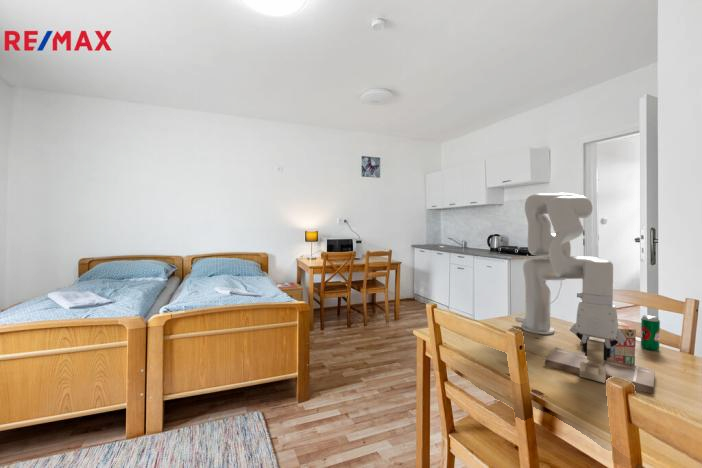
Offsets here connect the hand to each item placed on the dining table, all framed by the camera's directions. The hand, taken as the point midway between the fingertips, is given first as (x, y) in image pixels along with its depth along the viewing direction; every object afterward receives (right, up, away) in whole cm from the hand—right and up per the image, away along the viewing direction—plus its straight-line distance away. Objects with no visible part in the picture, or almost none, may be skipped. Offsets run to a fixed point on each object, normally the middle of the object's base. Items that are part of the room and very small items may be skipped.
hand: (596, 356), depth 100 cm
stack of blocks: (+16, -5, +16) cm, 23 cm away
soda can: (+34, -5, +18) cm, 39 cm away
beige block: (0, -5, 0) cm, 5 cm away
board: (+2, -5, +1) cm, 5 cm away
